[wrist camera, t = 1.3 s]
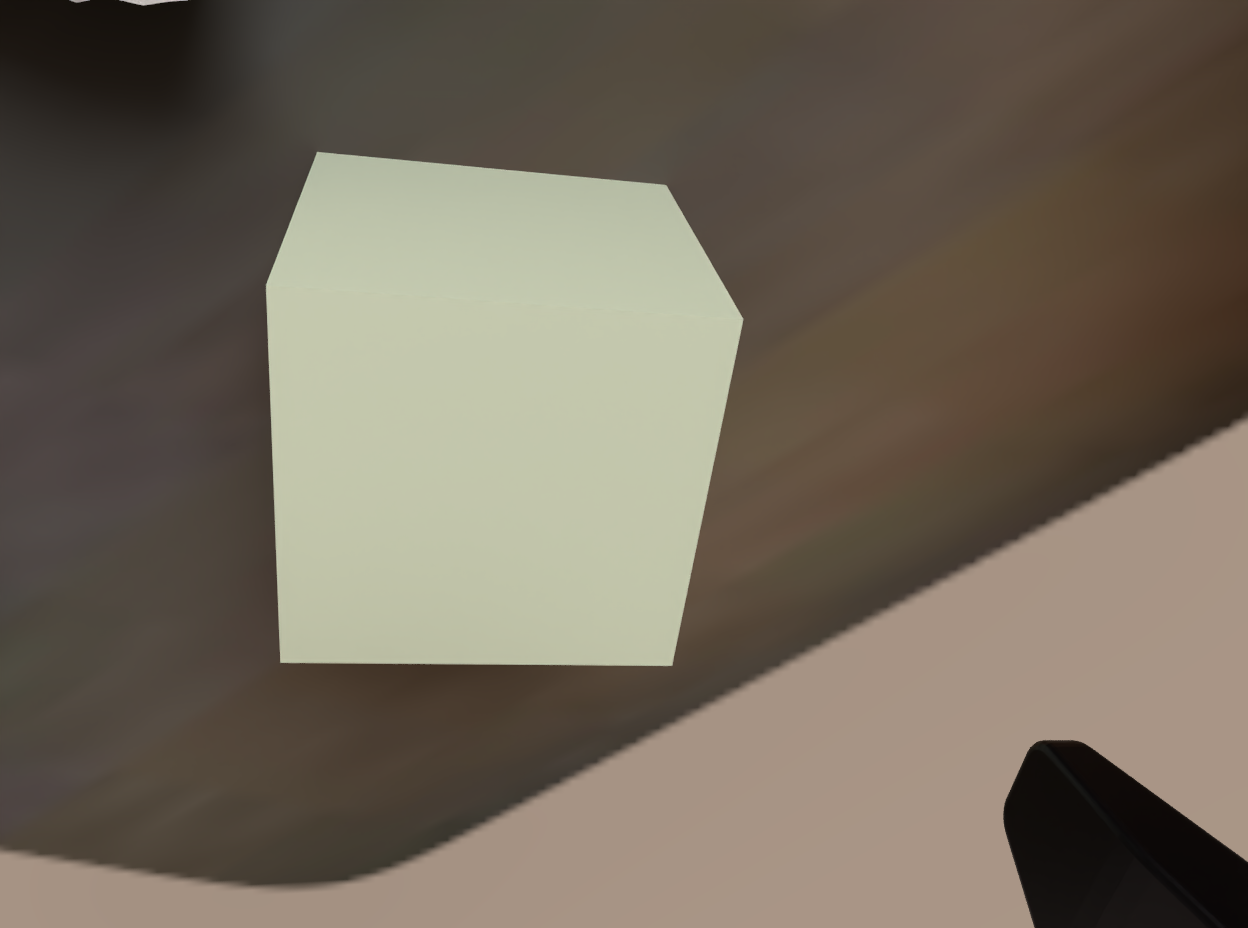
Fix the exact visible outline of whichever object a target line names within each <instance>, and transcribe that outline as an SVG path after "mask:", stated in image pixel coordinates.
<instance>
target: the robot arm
mask: <svg viewBox="0 0 1248 928" xmlns="http://www.w3.org/2000/svg"><path fill="white" fill-rule="evenodd" d="M1003 815H1004V818H1003V819H1004V827H1005V832H1006V835H1007V839H1008V842H1009V845H1010V848H1011V852H1012V855H1013V858H1014V862H1015V865H1016V868H1017V871H1018V875H1019V878H1020V881H1021V884H1022V888H1023V891H1024V894H1025V898H1026V901H1027V904H1028V908H1029V911H1030V914H1031V918H1032V921H1033V924H1034V927H1035V928H1248V862H1247V861H1245V860H1244V859H1243V858H1242V857H1240V856H1239V855H1237V854H1236V853H1235V852H1233V851H1232V850H1231V849H1229V848H1228V847H1226V846H1225V845H1224V844H1222V843H1221V842H1220V841H1218V840H1217V839H1215V838H1214V837H1213V836H1211V835H1210V834H1209V833H1207V832H1206V831H1205V830H1203V829H1202V828H1200V827H1199V826H1198V825H1196V824H1195V823H1193V822H1192V821H1191V820H1189V819H1188V818H1187V817H1185V816H1184V815H1182V814H1181V813H1180V812H1178V811H1177V810H1176V809H1174V808H1173V807H1171V806H1170V805H1169V804H1168V803H1166V802H1165V801H1163V800H1162V799H1160V798H1159V797H1158V796H1156V795H1155V794H1154V793H1152V792H1151V791H1149V790H1148V789H1147V788H1146V787H1144V786H1143V785H1141V784H1140V783H1139V782H1137V781H1136V780H1135V779H1133V778H1132V777H1130V776H1129V775H1128V774H1126V773H1125V772H1124V771H1122V770H1121V769H1119V768H1118V767H1117V766H1115V765H1114V764H1113V763H1111V762H1110V761H1108V760H1107V759H1106V758H1104V757H1103V756H1102V755H1100V754H1099V753H1098V752H1096V751H1095V750H1093V749H1092V748H1091V747H1089V746H1087V745H1086V744H1084V743H1082V742H1079V741H1073V740H1071V741H1070V740H1064V741H1063V740H1062V741H1061V740H1058V741H1057V740H1055V741H1054V740H1047V741H1046V740H1043V741H1039V742H1036V743H1035V744H1034V745H1033V746H1032V747H1030V749H1029V751H1028V752H1027V754H1026V757H1025V759H1024V761H1023V763H1022V766H1021V768H1020V770H1019V772H1018V774H1017V777H1016V779H1015V781H1014V783H1013V785H1012V788H1011V790H1010V792H1009V794H1008V797H1007V799H1006V801H1005V806H1004V814H1003Z"/></svg>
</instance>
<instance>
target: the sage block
mask: <svg viewBox="0 0 1248 928" xmlns="http://www.w3.org/2000/svg"><path fill="white" fill-rule="evenodd" d="M266 298H267V324H268V350H269V376H270V403H271V429H272V455H273V482H274V508H275V534H276V560H277V587H278V613H279V639H280V663H374V664H504V665H634V666H672V663H673V658H674V653H675V648H676V644H677V639H678V634H679V629H680V624H681V619H682V614H683V610H684V605H685V600H686V595H687V590H688V585H689V580H690V576H691V571H692V566H693V561H694V556H695V551H696V546H697V541H698V537H699V532H700V527H701V522H702V517H703V512H704V507H705V503H706V498H707V493H708V488H709V483H710V478H711V473H712V469H713V464H714V459H715V454H716V449H717V444H718V439H719V435H720V430H721V425H722V420H723V415H724V410H725V405H726V401H727V396H728V391H729V386H730V381H731V376H732V371H733V367H734V362H735V357H736V352H737V347H738V342H739V337H740V333H741V328H742V323H743V318H742V316H741V314H740V313H739V311H738V309H737V308H736V306H735V304H734V302H733V301H732V299H731V297H730V295H729V294H728V292H727V290H726V288H725V287H724V285H723V283H722V281H721V280H720V278H719V276H718V275H717V273H716V271H715V269H714V268H713V266H712V264H711V262H710V261H709V259H708V257H707V255H706V254H705V252H704V250H703V248H702V247H701V245H700V243H699V242H698V240H697V238H696V236H695V235H694V233H693V231H692V229H691V228H690V226H689V224H688V222H687V221H686V219H685V217H684V215H683V214H682V212H681V210H680V208H679V207H678V205H677V203H676V202H675V200H674V198H673V196H672V195H671V193H670V191H669V189H668V188H667V186H666V185H659V184H649V183H638V182H628V181H617V180H606V179H596V178H585V177H575V176H564V175H554V174H543V173H532V172H522V171H511V170H501V169H490V168H480V167H469V166H459V165H448V164H437V163H427V162H416V161H406V160H395V159H385V158H374V157H363V156H353V155H342V154H332V153H321V152H317V154H316V157H315V159H314V162H313V164H312V167H311V170H310V172H309V175H308V177H307V180H306V183H305V185H304V188H303V190H302V193H301V196H300V198H299V201H298V203H297V206H296V209H295V211H294V214H293V216H292V219H291V222H290V224H289V227H288V229H287V232H286V235H285V237H284V240H283V242H282V245H281V248H280V250H279V253H278V255H277V258H276V261H275V263H274V266H273V268H272V271H271V274H270V276H269V279H268V281H267V284H266Z"/></svg>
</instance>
